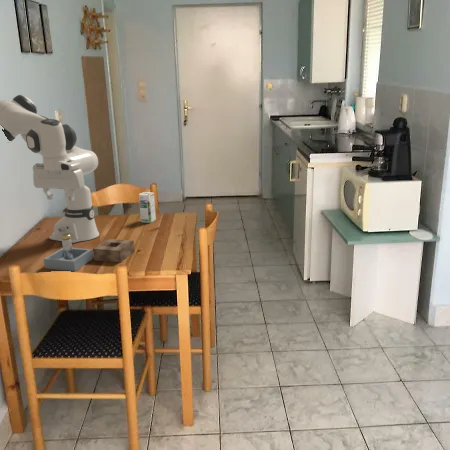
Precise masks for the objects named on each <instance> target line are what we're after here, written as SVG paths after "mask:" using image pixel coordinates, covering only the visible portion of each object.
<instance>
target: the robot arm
mask: <svg viewBox="0 0 450 450" xmlns="http://www.w3.org/2000/svg"><path fill="white" fill-rule="evenodd" d="M0 125H1V126H2V127H3V128H4V130H3V129H2V131H3V132H4V134H5V136H6V137H7V139H8V140H9V141H11V142H13V141H14V140H15V139H16V137H18V135H20V136H21V138H22V139H23V141H24V142H25V143H26V145H27V148H28V150H30V151H31V152H33V153H34V154H38V155H40V156H42V161H43V163H39V162H38V163H35V164H34V165H33V167H32V171H33V173H32V176H33V177H32V179H33V182H32V183H33V186H34V187H35V188H37V189H42V191H43V193H44V194H45V195H46V198H47V200H53V199H54V196H53V195H54V194H53V193H51V192H50V189H56V190H63V192H64V197H65V203H66V204H65V205H66V208H64V209H62V210H61V211H62V213H64V215H63V217H61V218H60V219H59V220H58V221H57V222H56V223H55V224H54V226H53V233H51V234H50V235H49V240H53V241H59V242H62V238H61V235H62V234H66V233H69V234H70V235H71V242H72V244H75V243H78V242H84V241H89V240H93V239H95V238H98V237H99V236H100V232H99V230H98V228H97V223H96V221H95V209H94V205H93V201H92V193H91V189H90V187H88V186H87V185H85V177H84V176H85V175H89V174H90V173H92V172H94V171H95V170H96V169H97V168H98V166H99V157H98V156H97V154H96V153H95V152H94V151H92V150H89V149H85V148H81V147H78V146H76V144H77V141H78V140H77V133H76V131H75V130H74V129H73V127H71V126H70V125H69V124H66V123H65V124H62V122H61V121H60V120H59V119H56V118H54V119H52V118H48V117H46V116H43V115H41V114H38V109H37V106H36V105H35V103H34V102H33V101H32V99H31V98H30V97H27V96H25V95H22V94H18V95H16V96H15V97H13V98H12V100H6V99H0Z"/></svg>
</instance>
